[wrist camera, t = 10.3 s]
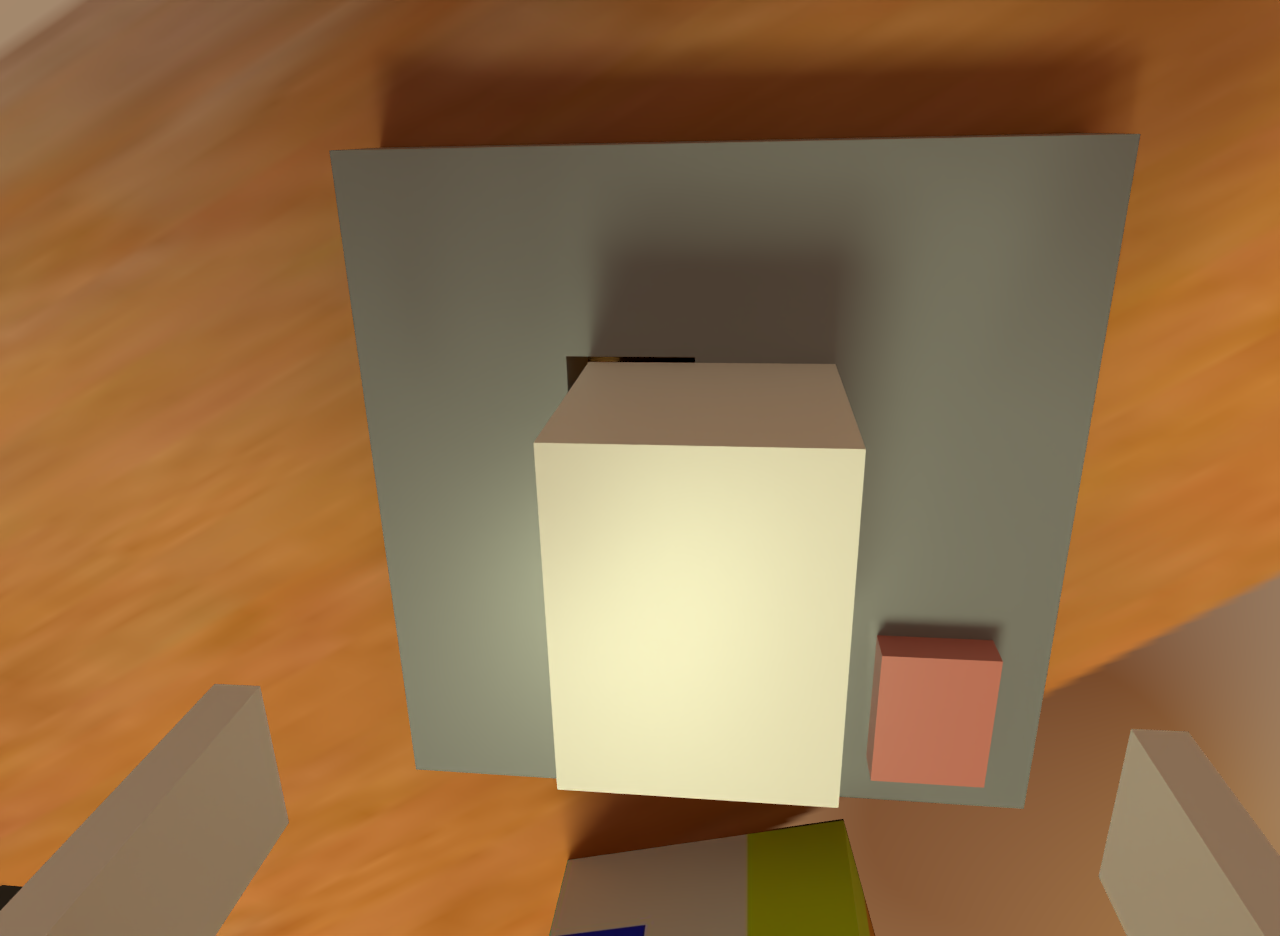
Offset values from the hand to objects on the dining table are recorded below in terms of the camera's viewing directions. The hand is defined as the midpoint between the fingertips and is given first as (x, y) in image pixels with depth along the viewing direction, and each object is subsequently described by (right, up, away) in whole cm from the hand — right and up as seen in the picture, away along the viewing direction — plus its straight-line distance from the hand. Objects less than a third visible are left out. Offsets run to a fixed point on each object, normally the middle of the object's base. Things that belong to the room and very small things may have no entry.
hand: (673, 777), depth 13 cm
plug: (+2, +5, +12) cm, 13 cm away
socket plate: (+2, +5, +12) cm, 13 cm away
